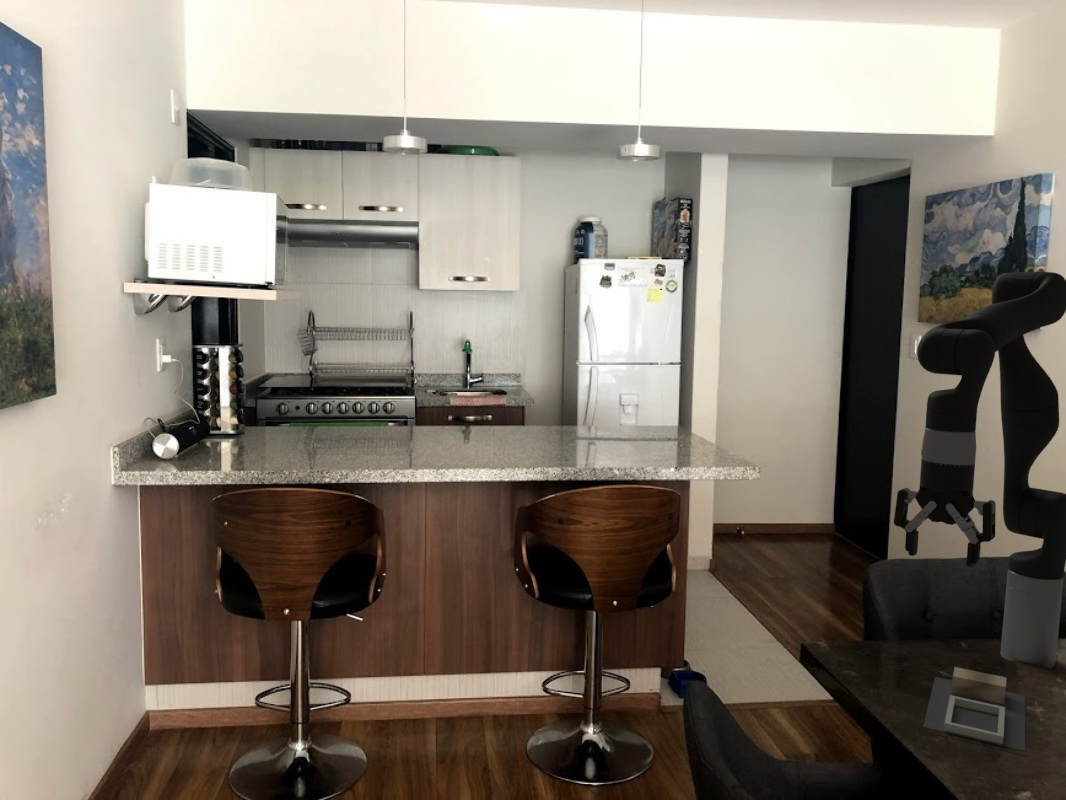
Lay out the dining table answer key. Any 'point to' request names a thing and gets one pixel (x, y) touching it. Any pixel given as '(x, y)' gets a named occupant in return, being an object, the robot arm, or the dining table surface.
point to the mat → (977, 715)
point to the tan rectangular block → (979, 685)
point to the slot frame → (970, 730)
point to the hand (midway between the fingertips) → (940, 560)
